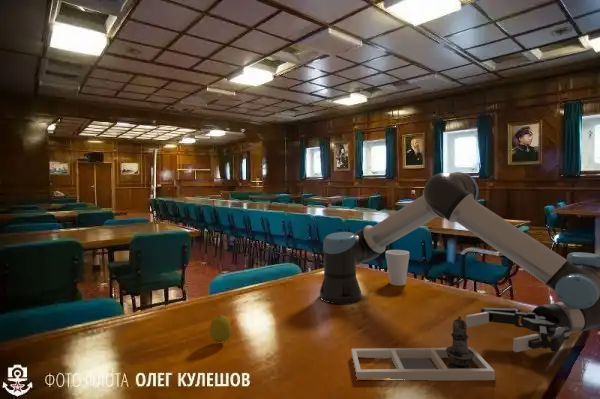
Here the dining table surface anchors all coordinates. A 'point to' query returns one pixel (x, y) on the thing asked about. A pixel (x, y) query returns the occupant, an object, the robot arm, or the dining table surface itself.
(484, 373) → the pocket rack
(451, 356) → the dark chess piece
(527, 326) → the robot arm
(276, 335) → the dining table surface
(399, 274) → the foam cup
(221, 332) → the lemon
